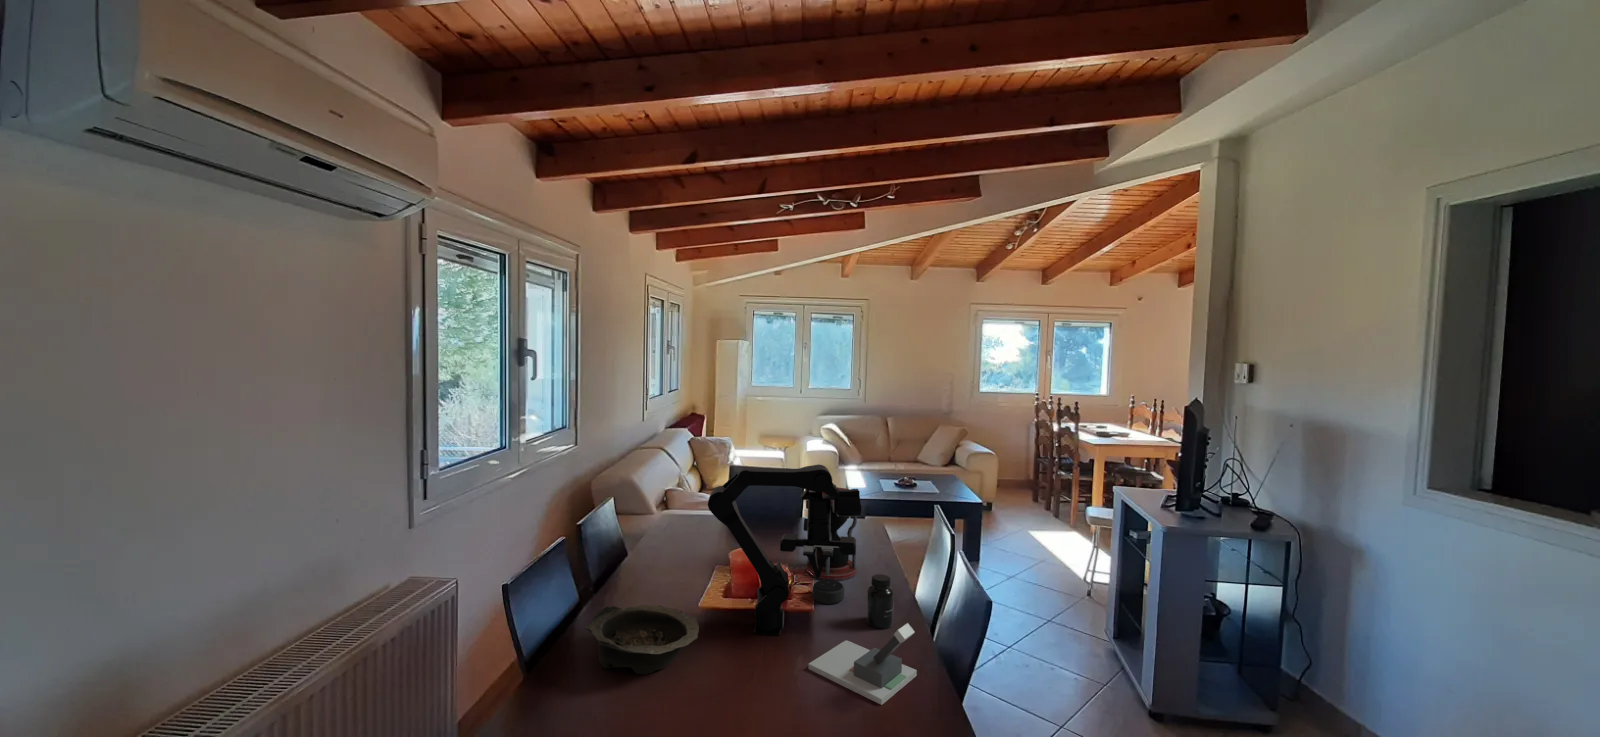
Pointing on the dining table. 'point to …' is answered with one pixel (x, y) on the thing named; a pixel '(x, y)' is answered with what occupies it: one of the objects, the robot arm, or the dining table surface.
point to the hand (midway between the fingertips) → (817, 577)
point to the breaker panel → (846, 678)
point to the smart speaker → (828, 591)
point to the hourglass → (836, 552)
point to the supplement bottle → (880, 602)
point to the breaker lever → (894, 642)
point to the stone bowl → (641, 636)
